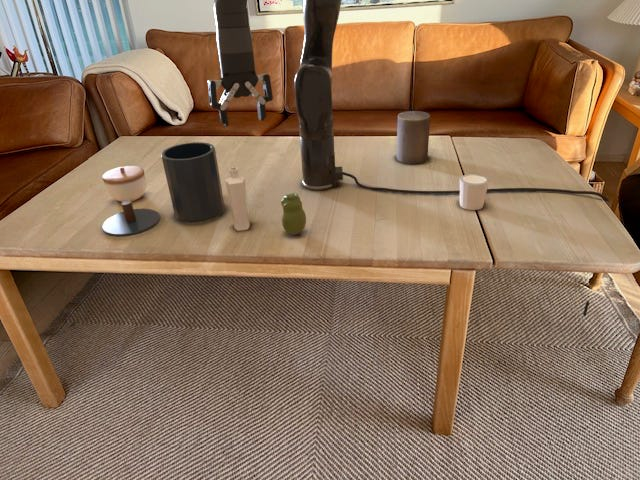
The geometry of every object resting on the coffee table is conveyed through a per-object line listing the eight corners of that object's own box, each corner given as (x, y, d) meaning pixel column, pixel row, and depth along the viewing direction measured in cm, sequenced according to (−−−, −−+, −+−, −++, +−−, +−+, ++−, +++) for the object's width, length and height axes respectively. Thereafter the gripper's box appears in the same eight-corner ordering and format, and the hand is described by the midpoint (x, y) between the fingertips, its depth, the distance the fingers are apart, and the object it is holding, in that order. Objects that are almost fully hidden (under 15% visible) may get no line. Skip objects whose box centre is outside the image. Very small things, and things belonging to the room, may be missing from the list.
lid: (166, 211, 125) (161, 189, 122) (151, 237, 113) (145, 213, 110) (115, 214, 125) (109, 192, 122) (94, 239, 114) (87, 216, 111)
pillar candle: (432, 156, 150) (435, 108, 143) (420, 166, 143) (423, 116, 136) (403, 151, 155) (405, 105, 148) (390, 161, 148) (392, 113, 141)
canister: (228, 201, 129) (218, 140, 120) (220, 223, 118) (208, 158, 109) (182, 203, 129) (169, 143, 121) (169, 225, 118) (154, 161, 110)
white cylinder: (470, 213, 116) (473, 187, 112) (451, 203, 121) (453, 177, 118) (491, 206, 118) (495, 180, 115) (472, 196, 124) (475, 171, 120)
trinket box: (101, 204, 131) (91, 173, 126) (127, 189, 139) (119, 158, 135) (133, 209, 127) (124, 176, 123) (157, 193, 136) (150, 161, 131)
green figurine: (287, 240, 109) (283, 200, 104) (279, 230, 113) (275, 192, 108) (310, 234, 111) (307, 195, 106) (301, 225, 115) (298, 187, 110)
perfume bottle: (228, 230, 114) (219, 171, 107) (238, 221, 118) (229, 164, 110) (245, 232, 113) (236, 173, 105) (254, 224, 116) (246, 166, 109)
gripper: (207, 54, 98) (218, 131, 106) (272, 48, 103) (278, 122, 111) (199, 49, 104) (210, 123, 112) (261, 43, 109) (267, 114, 117)
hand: (244, 122), depth 112 cm, fingers open, 8 cm apart
